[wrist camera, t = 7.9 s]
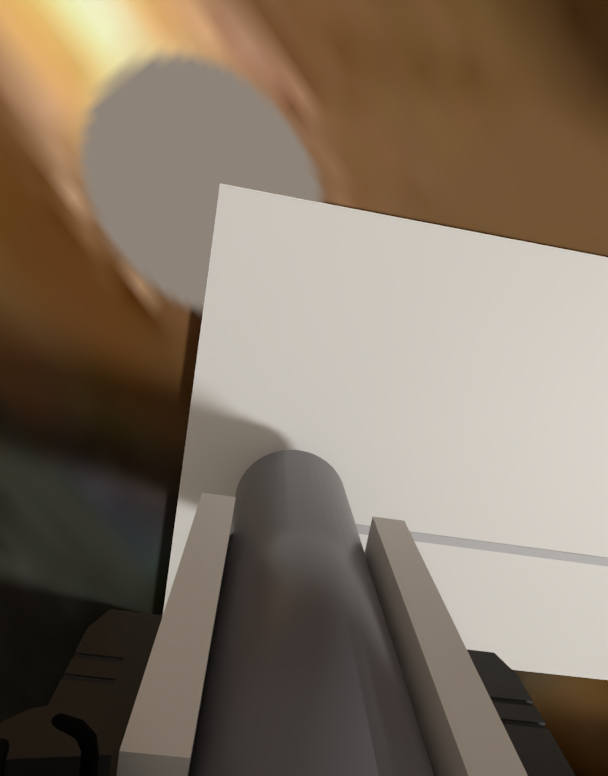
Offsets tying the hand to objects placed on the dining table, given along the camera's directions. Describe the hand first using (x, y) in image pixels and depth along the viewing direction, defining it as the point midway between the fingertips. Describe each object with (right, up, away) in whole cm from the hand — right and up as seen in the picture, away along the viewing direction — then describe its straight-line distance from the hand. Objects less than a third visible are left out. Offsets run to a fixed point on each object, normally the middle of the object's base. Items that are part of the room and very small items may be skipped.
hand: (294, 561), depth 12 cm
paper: (+7, +1, +5) cm, 8 cm away
